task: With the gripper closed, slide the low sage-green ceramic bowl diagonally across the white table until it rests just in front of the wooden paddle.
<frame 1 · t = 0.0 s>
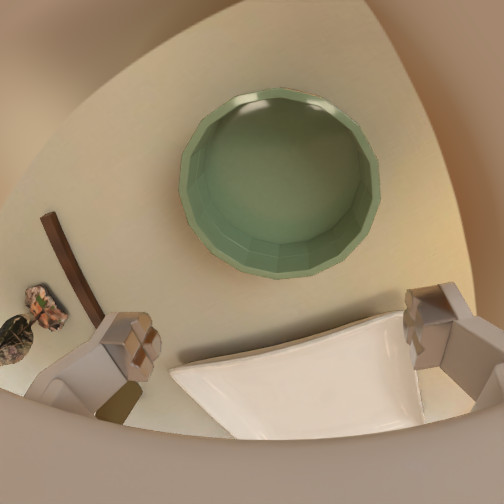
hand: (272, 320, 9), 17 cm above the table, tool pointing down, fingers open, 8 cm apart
bowl: (282, 171, 24), on the table
pepper mill: (125, 384, 44), on the table
plant with pod: (44, 307, 38), on the table
wooden paddle: (87, 294, 34), on the table
square plate: (315, 392, 38), on the table
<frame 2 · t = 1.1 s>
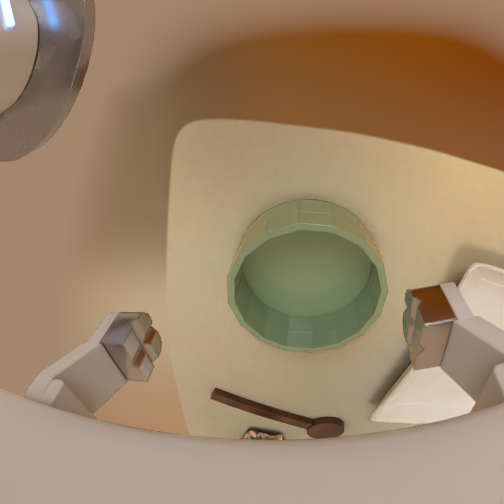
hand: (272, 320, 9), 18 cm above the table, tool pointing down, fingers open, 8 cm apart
bowl: (307, 265, 30), on the table
plant with pod: (263, 439, 49), on the table
wooden paddle: (281, 413, 43), on the table
square plate: (485, 348, 32), on the table
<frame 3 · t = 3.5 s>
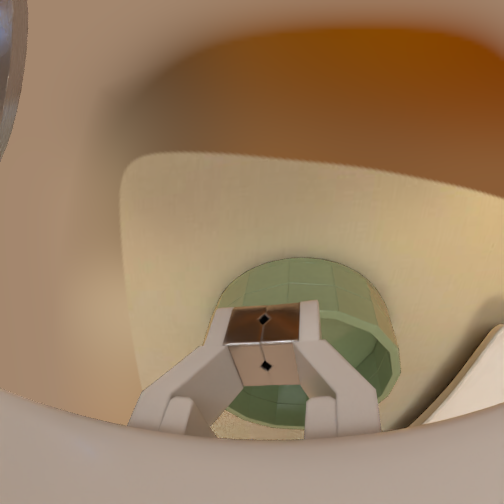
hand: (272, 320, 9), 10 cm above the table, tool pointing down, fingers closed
bowl: (300, 331, 23), on the table
square plate: (498, 391, 26), on the table
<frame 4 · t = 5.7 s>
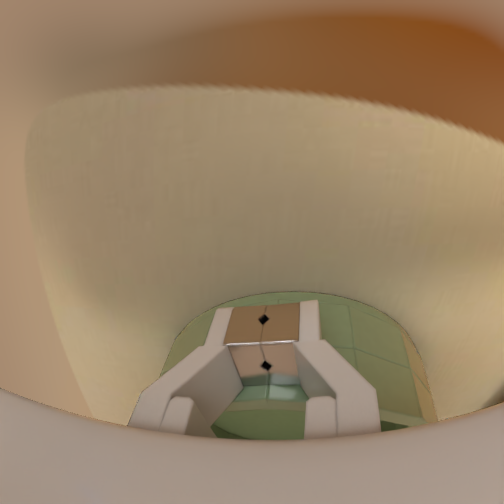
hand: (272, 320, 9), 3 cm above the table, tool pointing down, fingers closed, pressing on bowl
bowl: (293, 389, 15), on the table, touching gripper
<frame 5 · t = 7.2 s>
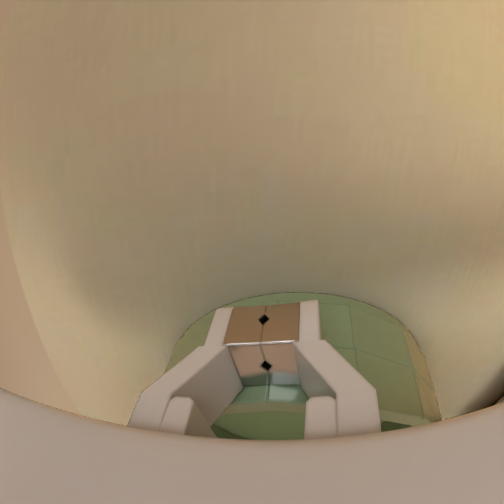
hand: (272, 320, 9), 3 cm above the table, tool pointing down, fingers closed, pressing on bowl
bowl: (296, 390, 15), on the table, touching gripper
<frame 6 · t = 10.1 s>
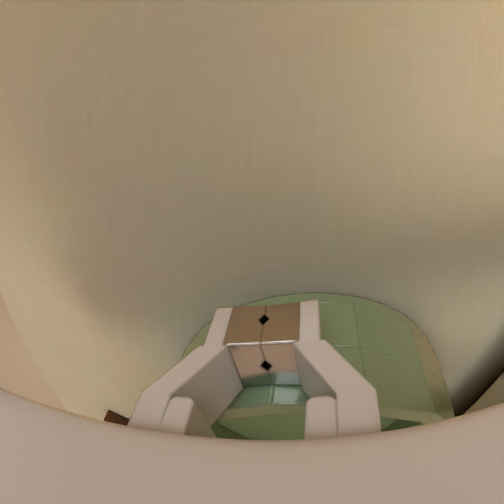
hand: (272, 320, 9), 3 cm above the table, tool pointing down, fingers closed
bowl: (308, 391, 15), on the table
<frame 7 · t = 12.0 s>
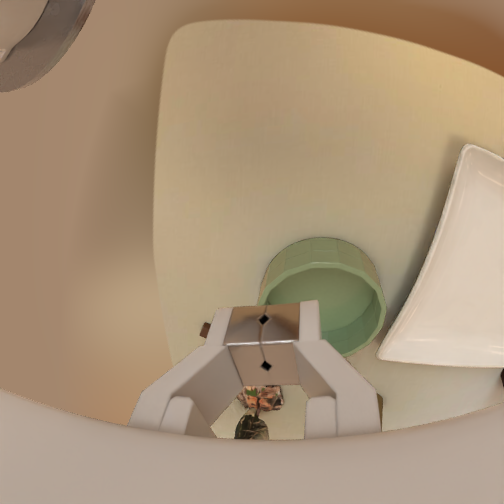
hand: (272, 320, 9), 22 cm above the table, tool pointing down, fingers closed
bowl: (320, 289, 35), on the table
plant with pod: (259, 396, 48), on the table
square plate: (495, 272, 30), on the table
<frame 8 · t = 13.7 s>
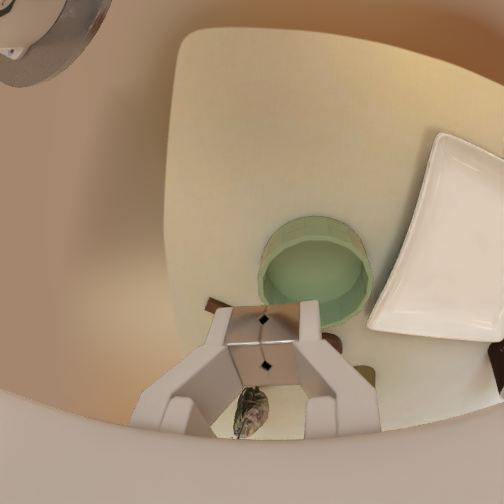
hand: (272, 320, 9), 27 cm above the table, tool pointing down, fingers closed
bowl: (314, 264, 40), on the table
pepper mill: (358, 375, 50), on the table
plant with pod: (259, 371, 52), on the table
wooden paddle: (276, 329, 46), on the table
square plate: (475, 249, 35), on the table
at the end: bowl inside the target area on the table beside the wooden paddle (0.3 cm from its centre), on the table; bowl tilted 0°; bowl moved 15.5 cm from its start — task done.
